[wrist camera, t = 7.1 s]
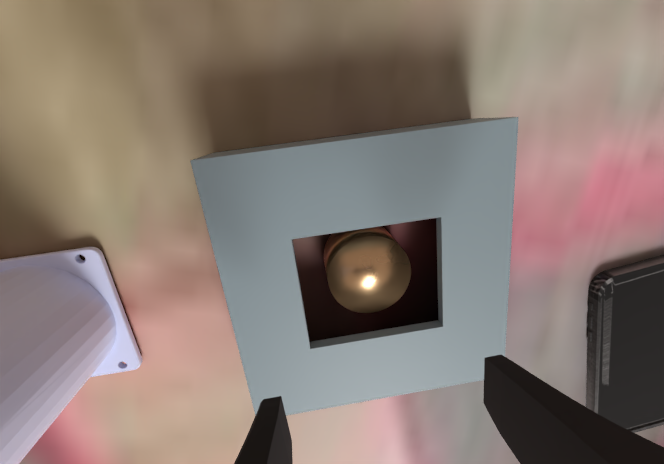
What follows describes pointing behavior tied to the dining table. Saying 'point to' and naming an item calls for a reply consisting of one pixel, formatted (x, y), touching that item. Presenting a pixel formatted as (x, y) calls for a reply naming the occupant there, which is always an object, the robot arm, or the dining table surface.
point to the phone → (627, 345)
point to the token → (366, 269)
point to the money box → (352, 214)
